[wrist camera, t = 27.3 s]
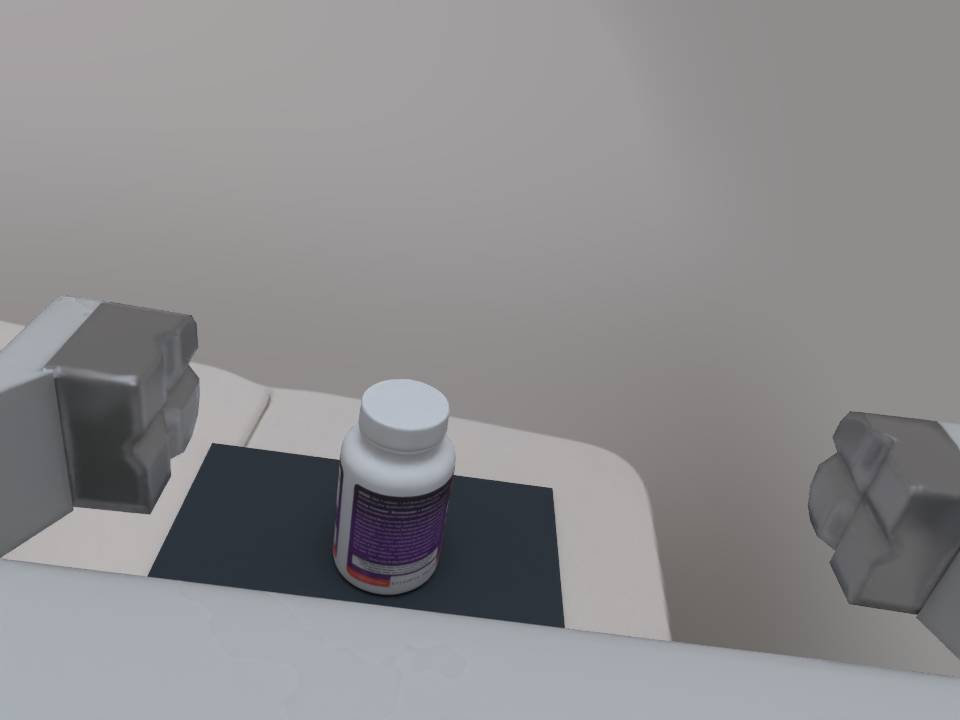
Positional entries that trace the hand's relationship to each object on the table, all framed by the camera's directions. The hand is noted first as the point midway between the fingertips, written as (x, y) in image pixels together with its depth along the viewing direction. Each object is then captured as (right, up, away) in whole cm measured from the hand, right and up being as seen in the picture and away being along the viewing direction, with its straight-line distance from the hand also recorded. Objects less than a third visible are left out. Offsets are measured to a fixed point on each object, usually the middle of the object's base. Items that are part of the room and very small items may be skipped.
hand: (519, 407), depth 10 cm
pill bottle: (-5, -10, +31) cm, 33 cm away
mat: (-6, -9, +31) cm, 33 cm away
